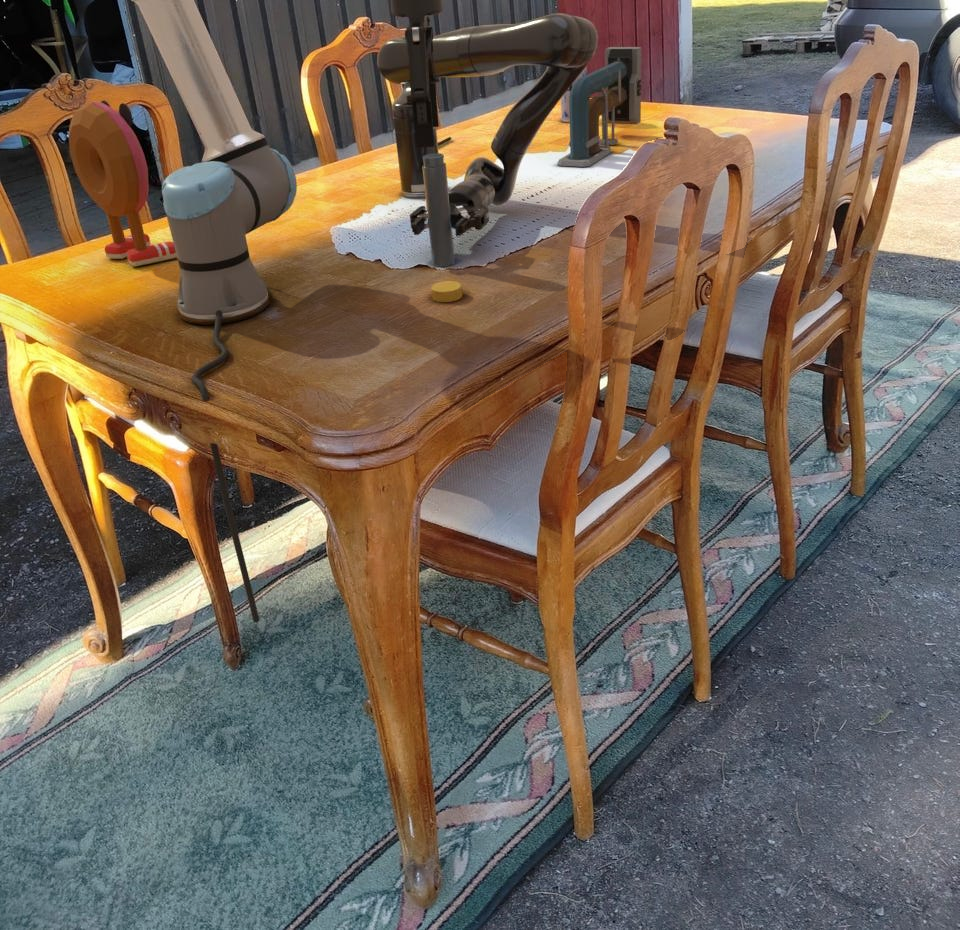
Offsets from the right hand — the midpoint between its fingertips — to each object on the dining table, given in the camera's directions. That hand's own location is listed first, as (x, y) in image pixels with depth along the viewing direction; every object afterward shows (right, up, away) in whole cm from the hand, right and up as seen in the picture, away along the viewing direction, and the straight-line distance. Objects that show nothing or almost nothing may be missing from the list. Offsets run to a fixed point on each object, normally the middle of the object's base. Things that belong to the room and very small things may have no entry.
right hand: (436, 230), depth 173 cm
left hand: (0, +9, -23) cm, 25 cm away
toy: (-61, 0, +22) cm, 64 cm away
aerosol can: (+35, +57, +104) cm, 124 cm away
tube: (+1, -5, +5) cm, 7 cm away
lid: (+2, -12, -11) cm, 17 cm away
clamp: (+38, +38, +71) cm, 89 cm away
